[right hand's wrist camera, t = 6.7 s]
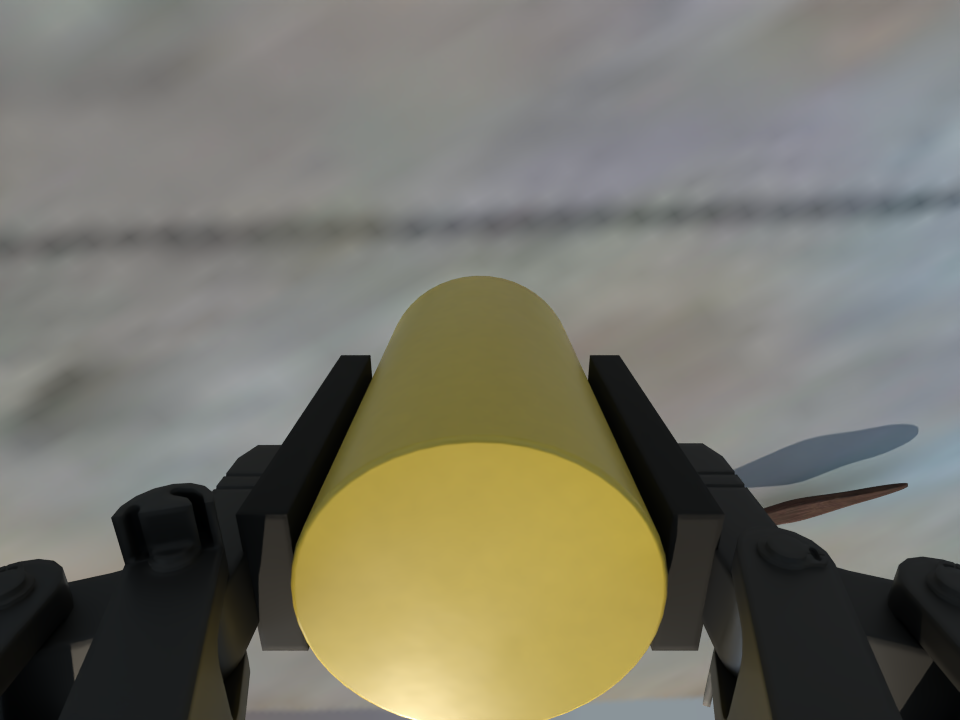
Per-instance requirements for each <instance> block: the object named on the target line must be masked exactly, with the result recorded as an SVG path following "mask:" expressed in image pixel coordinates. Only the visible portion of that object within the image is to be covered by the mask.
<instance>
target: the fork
mask: <svg viewBox="0 0 960 720" xmlns="http://www.w3.org/2000/svg"><path fill="white" fill-rule="evenodd" d="M906 487H908V483H898V484H890V485H882V486H876V487H870V488H864V489H858V490H853V491H847V492H840V493H833V494H826V495H819V496H812V497H805V498H799V499H794V500H790V501H786V502H783V503H779V504H776V505H773V506H770V507H767V508H764V510H765V511H766V513H767V514H768V515H769V516H770V518H771V519H772V520H773V522H774V523H775V524H776V525H780V524H786V523H792V522H797V521H801V520H805V519H808V518H812V517H815V516H818V515H822V514H825V513H828V512H831V511H834V510H837V509H841V508H844V507H847V506H850V505H854V504H857V503H861V502H864V501H868V500H871V499H874V498H878V497H881V496H884V495H887V494H890V493H893V492H896V491H899V490H902V489H904V488H906Z"/></svg>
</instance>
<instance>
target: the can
mask: <svg viewBox="0 0 960 720" xmlns="http://www.w3.org/2000/svg"><path fill="white" fill-rule="evenodd" d="M667 588H668V571H667V563H666V556H665V552H664V549H663V546H662V543H661V539H660V536H659V534H658V532H657V530H656V527H655V525H654V523H653V521H652V519H651V517H650V514H649V512H648V510H647V508H646V506H645V504H644V501H643V499H642V497H641V495H640V493H639V491H638V488H637V486H636V484H635V482H634V480H633V478H632V475H631V473H630V471H629V469H628V467H627V465H626V462H625V460H624V458H623V456H622V454H621V452H620V449H619V447H618V445H617V443H616V441H615V438H614V436H613V434H612V432H611V430H610V428H609V425H608V423H607V421H606V419H605V417H604V415H603V412H602V410H601V408H600V406H599V404H598V402H597V399H596V397H595V395H594V393H593V391H592V389H591V386H590V384H589V382H588V380H587V378H586V376H585V373H584V371H583V369H582V367H581V365H580V363H579V360H578V358H577V356H576V354H575V352H574V350H573V347H572V345H571V343H570V341H569V339H568V337H567V334H566V332H565V330H564V328H563V326H562V324H561V322H560V320H559V318H558V317H557V316H556V314H555V313H554V311H553V310H552V309H551V308H550V307H549V305H548V304H547V303H546V302H545V301H544V300H542V299H541V298H540V297H539V296H538V295H536V294H535V293H534V292H532V291H530V290H529V289H527V288H526V287H524V286H521V285H519V284H517V283H515V282H512V281H509V280H505V279H502V278H496V277H490V276H471V277H462V278H458V279H454V280H450V281H448V282H445V283H442V284H440V285H438V286H436V287H434V288H432V289H430V290H429V291H427V292H426V293H424V294H423V295H422V296H420V297H419V298H418V299H417V300H416V301H415V302H414V303H413V304H412V305H411V306H410V307H409V308H408V309H407V311H406V312H405V313H404V314H403V316H402V318H401V319H400V321H399V323H398V324H397V326H396V328H395V331H394V333H393V335H392V337H391V339H390V341H389V344H388V346H387V348H386V350H385V352H384V354H383V356H382V359H381V361H380V363H379V365H378V367H377V369H376V372H375V374H374V376H373V378H372V380H371V382H370V384H369V387H368V389H367V391H366V393H365V395H364V397H363V400H362V402H361V404H360V406H359V408H358V410H357V412H356V415H355V417H354V419H353V421H352V423H351V425H350V428H349V430H348V432H347V434H346V436H345V438H344V440H343V443H342V445H341V447H340V449H339V451H338V453H337V456H336V458H335V460H334V462H333V464H332V466H331V468H330V471H329V473H328V475H327V477H326V479H325V481H324V483H323V486H322V488H321V490H320V492H319V494H318V496H317V499H316V501H315V503H314V505H313V507H312V509H311V511H310V514H309V516H308V518H307V520H306V522H305V524H304V527H303V529H302V532H301V534H300V536H299V539H298V541H297V544H296V547H295V552H294V556H293V560H292V566H291V591H292V600H293V607H294V610H295V614H296V617H297V621H298V624H299V627H300V629H301V631H302V633H303V635H304V637H305V639H306V641H307V643H308V645H309V646H310V648H311V649H312V651H313V652H314V654H315V655H316V657H317V658H318V659H319V660H320V662H321V663H322V664H323V665H324V666H325V667H326V668H327V670H328V671H329V672H330V673H331V674H332V675H333V676H335V677H336V678H337V679H338V680H339V681H340V682H341V683H342V684H344V685H345V686H346V687H347V688H349V689H350V690H352V691H353V692H355V693H356V694H358V695H359V696H360V697H362V698H364V699H365V700H367V701H369V702H371V703H373V704H375V705H376V706H378V707H380V708H382V709H385V710H387V711H390V712H392V713H394V714H397V715H399V716H402V717H405V718H409V719H412V720H547V719H550V718H553V717H556V716H559V715H562V714H565V713H567V712H570V711H572V710H574V709H576V708H578V707H580V706H582V705H584V704H587V703H588V702H590V701H592V700H593V699H595V698H596V697H598V696H600V695H601V694H603V693H605V692H606V691H607V690H609V689H610V688H611V687H612V686H614V685H615V684H616V683H617V682H619V681H620V680H621V679H622V678H623V677H624V676H625V675H626V674H627V673H628V672H629V671H630V670H631V669H632V668H633V667H634V666H635V665H636V664H637V662H638V661H639V660H640V659H641V657H642V656H643V655H644V653H645V652H646V651H647V649H648V647H649V646H650V644H651V642H652V640H653V639H654V637H655V635H656V633H657V630H658V628H659V625H660V622H661V620H662V617H663V613H664V609H665V604H666V599H667Z"/></svg>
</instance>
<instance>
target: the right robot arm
mask: <svg viewBox="0 0 960 720" xmlns="http://www.w3.org/2000/svg"><path fill="white" fill-rule="evenodd" d="M371 380H372V370H371V358H370V355H341V356H340V358H339V359H338V361H337V362H336V364H335V365H334V367H333V368H332V370H331V371H330V373H329V374H328V376H327V377H326V379H325V380H324V382H323V383H322V385H321V386H320V388H319V389H318V391H317V392H316V394H315V396H314V397H313V399H312V400H311V402H310V403H309V405H308V406H307V408H306V409H305V411H304V412H303V414H302V415H301V417H300V418H299V420H298V421H297V423H296V424H295V426H294V427H293V429H292V430H291V432H290V433H289V435H288V436H287V438H286V439H285V441H284V442H283V444H282V445H258V446H256V447H254V448H253V449H251V450H250V451H248V452H247V453H245V454H244V455H242V456H241V457H239V458H238V459H237V460H236V462H235V463H234V464H233V465H232V467H231V468H230V469H229V471H228V472H227V473H226V476H224V477H223V478H222V480H221V481H220V482H219V483H218V485H217V486H216V487H217V488H216V489H214V490H213V491H210V490H209V489H208V488H207V487H205V486H203V485H198V484H193V483H182V484H171V485H167V486H163V487H159V488H154V489H152V490H150V491H147V492H145V493H143V494H140V495H138V496H136V497H134V498H133V499H131V500H130V501H128V502H127V503H125V504H124V505H122V506H121V507H120V508H119V509H118V510H117V511H116V513H115V514H114V515H113V516H112V517H111V519H112V522H113V526H114V529H115V532H116V535H117V539H118V542H119V545H120V549H121V552H122V555H123V559H124V562H125V566H124V568H123V570H121V571H117V572H114V573H110V574H105V575H101V576H96V577H91V578H87V579H82V580H77V581H73V582H67V579H66V576H65V573H64V571H63V568H62V567H61V566H60V565H59V564H57V563H56V562H55V561H51V560H43V559H35V560H28V561H21V562H17V563H13V564H9V565H8V566H3V567H0V720H245V715H246V706H247V697H248V687H249V678H250V667H249V661H248V656H247V651H246V649H247V647H248V645H249V643H250V641H251V639H252V636H253V634H254V632H255V630H256V628H257V626H258V631H259V636H260V641H261V646H262V651H308V649H309V647H310V646H309V645H308V643H307V641H306V639H305V637H304V635H303V633H302V631H301V629H300V627H299V624H298V621H297V617H296V614H295V610H294V607H293V600H292V591H291V566H292V560H293V556H294V552H295V547H296V544H297V541H298V539H299V536H300V534H301V532H302V529H303V527H304V524H305V522H306V520H307V518H308V516H309V514H310V511H311V509H312V507H313V505H314V503H315V501H316V499H317V496H318V494H319V492H320V490H321V488H322V486H323V483H324V481H325V479H326V477H327V475H328V473H329V471H330V468H331V466H332V464H333V462H334V460H335V458H336V456H337V453H338V451H339V449H340V447H341V445H342V443H343V440H344V438H345V436H346V434H347V432H348V430H349V428H350V425H351V423H352V421H353V419H354V417H355V415H356V412H357V410H358V408H359V406H360V404H361V402H362V400H363V397H364V395H365V393H366V391H367V389H368V387H369V384H370V382H371ZM588 382H589V384H590V386H591V389H592V391H593V393H594V395H595V397H596V399H597V402H598V404H599V406H600V408H601V410H602V412H603V415H604V417H605V419H606V421H607V423H608V425H609V428H610V430H611V432H612V434H613V436H614V438H615V441H616V443H617V445H618V447H619V449H620V452H621V454H622V456H623V458H624V460H625V462H626V465H627V467H628V469H629V471H630V473H631V475H632V478H633V480H634V482H635V484H636V486H637V488H638V491H639V493H640V495H641V497H642V499H643V501H644V504H645V506H646V508H647V510H648V512H649V514H650V517H651V519H652V521H653V523H654V525H655V527H656V530H657V532H658V534H659V536H660V539H661V543H662V546H663V549H664V552H665V556H666V563H667V571H668V588H667V599H666V604H665V609H664V613H663V617H662V620H661V622H660V625H659V628H658V630H657V633H656V635H655V637H654V639H653V640H652V642H651V644H650V646H651V648H652V650H659V651H698V647H699V642H700V637H701V632H702V627H703V624H704V626H705V629H706V631H707V633H708V635H709V637H710V639H711V641H712V644H713V646H714V651H713V656H712V660H711V665H710V670H709V675H708V679H707V684H706V689H705V693H704V700H703V705H704V706H708V707H710V705H711V701H712V696H713V704H714V714H715V720H960V565H959V564H957V563H956V564H955V563H953V562H950V561H946V560H942V559H935V558H928V557H916V558H907V559H906V560H905V561H903V562H902V563H901V564H899V566H898V569H897V572H896V575H895V577H894V580H889V579H885V578H880V577H875V576H871V575H866V574H861V573H857V572H852V571H848V570H844V569H841V568H837V567H836V565H835V563H834V562H833V560H832V559H831V558H830V556H829V555H828V553H827V552H826V551H825V550H823V549H822V548H821V547H820V546H818V545H817V544H816V543H814V542H813V541H812V540H810V539H808V538H805V537H803V536H801V535H799V534H797V533H795V532H792V531H788V530H785V529H781V528H778V527H777V525H776V524H775V523H774V522H773V520H772V519H771V518H770V516H769V515H768V514H767V513H766V511H765V510H764V509H763V508H762V506H761V505H760V504H759V502H758V501H757V500H756V499H755V497H754V496H753V495H752V493H751V492H750V491H749V490H748V488H745V487H744V483H743V482H742V481H741V479H740V478H739V477H738V476H737V475H735V474H734V470H733V469H732V468H731V467H730V465H729V464H728V463H727V461H726V460H725V459H724V458H723V456H721V455H720V454H718V453H716V452H715V451H713V450H712V449H710V448H709V447H707V446H706V445H704V444H703V443H677V442H676V440H675V439H674V437H673V436H672V434H671V433H670V431H669V430H668V428H667V427H666V425H665V424H664V422H663V421H662V419H661V418H660V416H659V415H658V413H657V412H656V410H655V409H654V407H653V406H652V404H651V402H650V401H649V399H648V398H647V396H646V395H645V393H644V392H643V390H642V389H641V387H640V386H639V384H638V383H637V381H636V380H635V378H634V377H633V375H632V374H631V372H630V371H629V369H628V368H627V366H626V365H625V363H624V362H623V360H622V359H621V357H620V356H619V355H590V362H589V375H588Z"/></svg>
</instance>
